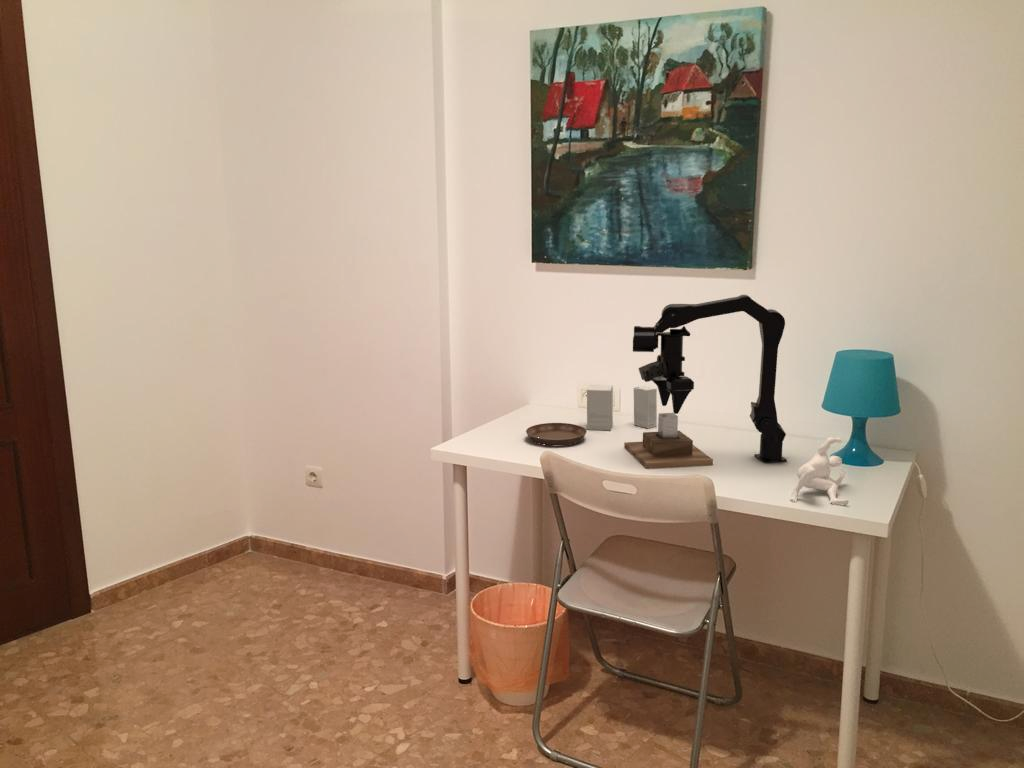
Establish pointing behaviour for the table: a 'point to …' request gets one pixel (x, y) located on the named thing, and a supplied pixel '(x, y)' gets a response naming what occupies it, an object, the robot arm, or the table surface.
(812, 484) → the person figurine
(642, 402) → the skincare box
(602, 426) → the supplement box
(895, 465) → the table surface
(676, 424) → the steel peg
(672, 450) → the socket block
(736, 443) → the table surface
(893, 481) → the table surface
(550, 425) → the plant saucer
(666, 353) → the robot arm
